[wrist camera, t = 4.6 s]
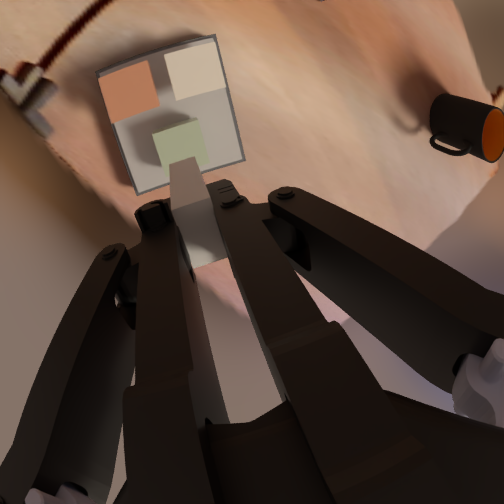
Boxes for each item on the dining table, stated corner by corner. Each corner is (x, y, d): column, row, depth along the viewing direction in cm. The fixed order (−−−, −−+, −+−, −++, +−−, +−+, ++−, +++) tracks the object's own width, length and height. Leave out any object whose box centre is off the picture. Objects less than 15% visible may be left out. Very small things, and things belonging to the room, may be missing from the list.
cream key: (164, 57, 21) (163, 54, 19) (210, 45, 22) (215, 41, 20) (175, 99, 24) (176, 100, 22) (221, 87, 24) (226, 87, 22)
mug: (408, 117, 35) (462, 135, 27) (452, 85, 34) (503, 98, 25) (423, 162, 40) (471, 187, 31) (463, 128, 39) (510, 146, 30)
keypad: (100, 72, 24) (94, 71, 21) (211, 37, 25) (216, 33, 23) (138, 188, 32) (136, 197, 29) (240, 155, 33) (246, 161, 31)
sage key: (153, 130, 26) (151, 134, 24) (195, 117, 26) (198, 119, 24) (165, 169, 28) (165, 177, 26) (206, 156, 29) (210, 162, 26)
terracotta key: (104, 79, 21) (97, 78, 19) (148, 62, 21) (146, 59, 19) (116, 120, 23) (111, 123, 21) (160, 104, 23) (159, 106, 21)
